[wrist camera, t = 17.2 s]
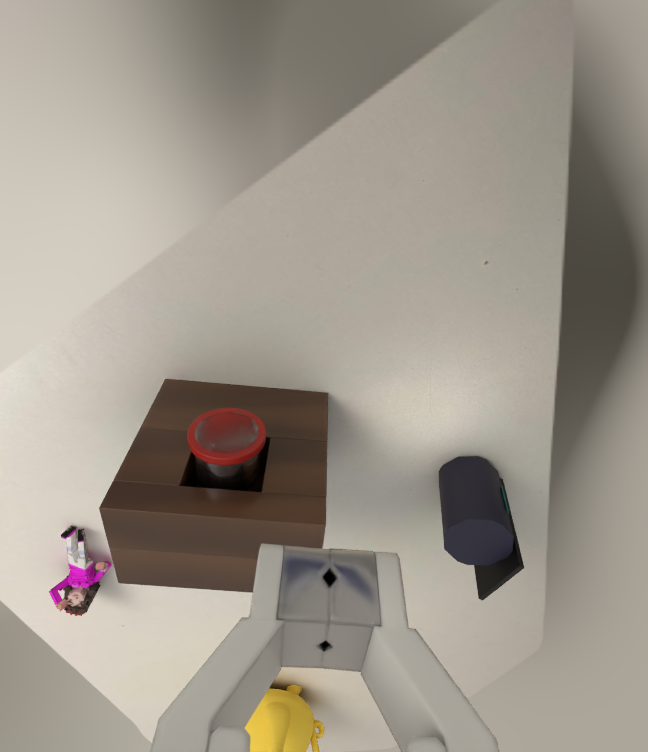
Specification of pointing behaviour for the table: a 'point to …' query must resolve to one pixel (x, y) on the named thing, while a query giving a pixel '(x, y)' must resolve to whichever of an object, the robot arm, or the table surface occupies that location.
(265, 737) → the teapot
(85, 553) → the character figurine
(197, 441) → the knob
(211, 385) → the control box
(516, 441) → the table surface
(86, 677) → the table surface
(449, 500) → the speaker
